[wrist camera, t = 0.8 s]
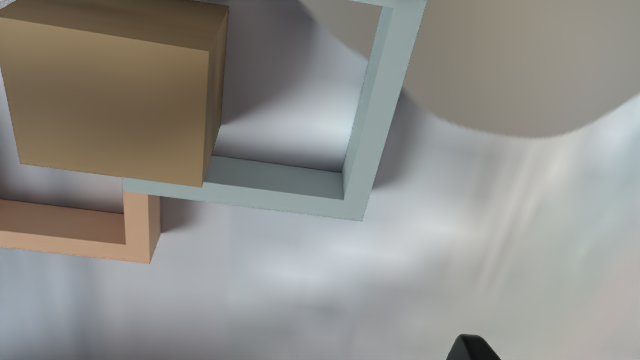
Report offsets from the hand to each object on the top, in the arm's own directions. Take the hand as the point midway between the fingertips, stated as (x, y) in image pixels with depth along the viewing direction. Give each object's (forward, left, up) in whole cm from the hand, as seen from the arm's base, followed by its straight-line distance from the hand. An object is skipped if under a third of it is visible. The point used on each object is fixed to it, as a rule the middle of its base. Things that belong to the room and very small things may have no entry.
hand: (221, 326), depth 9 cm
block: (-1, +5, -13) cm, 13 cm away
